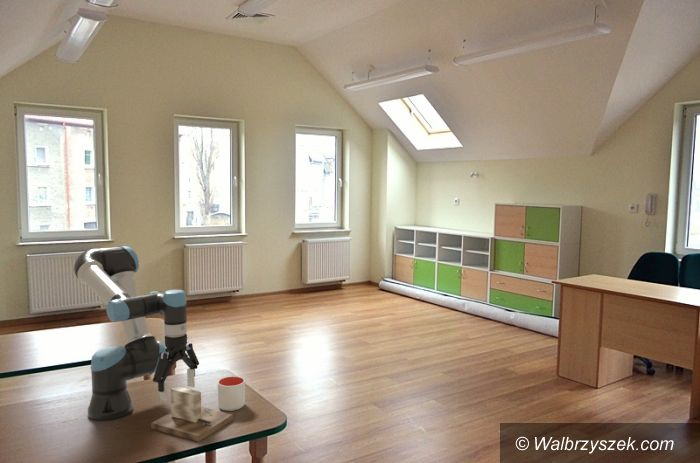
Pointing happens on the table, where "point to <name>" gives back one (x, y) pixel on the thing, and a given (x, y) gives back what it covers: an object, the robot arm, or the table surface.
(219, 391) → the cup
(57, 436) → the table surface
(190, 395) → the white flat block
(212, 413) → the board
